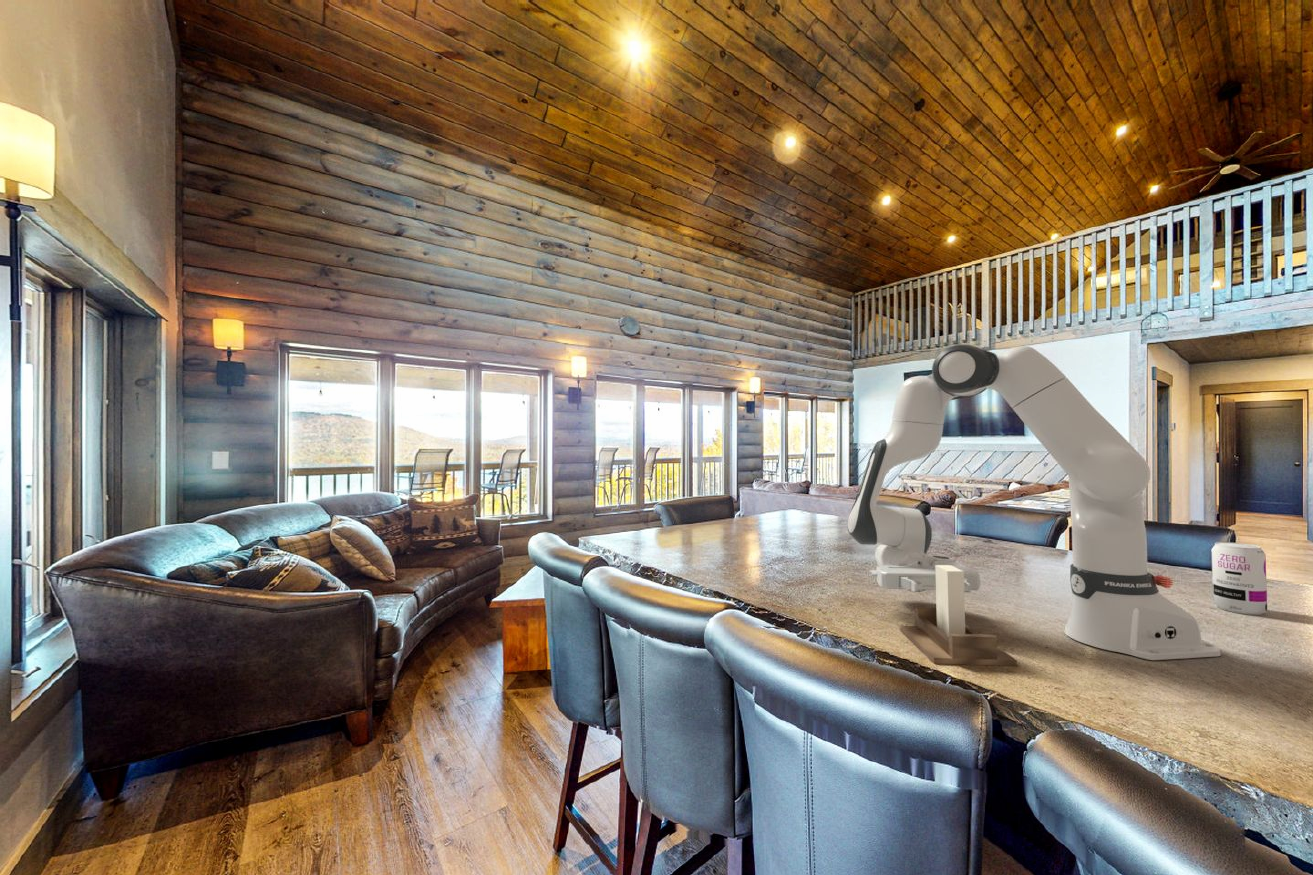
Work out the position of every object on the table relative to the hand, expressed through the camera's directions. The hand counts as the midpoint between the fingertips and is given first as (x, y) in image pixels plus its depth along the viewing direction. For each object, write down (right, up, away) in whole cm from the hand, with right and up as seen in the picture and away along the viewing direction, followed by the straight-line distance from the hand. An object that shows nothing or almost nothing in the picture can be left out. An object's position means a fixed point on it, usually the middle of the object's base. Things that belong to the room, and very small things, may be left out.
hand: (942, 588), depth 101 cm
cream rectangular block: (0, -9, -3) cm, 10 cm away
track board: (0, -10, -4) cm, 11 cm away
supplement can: (+77, -10, +14) cm, 79 cm away
